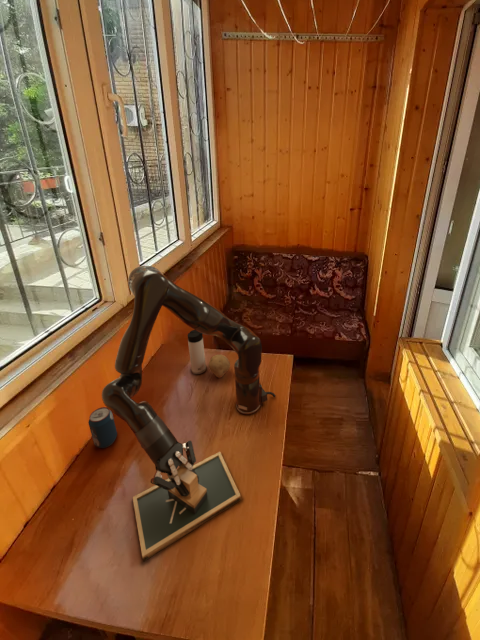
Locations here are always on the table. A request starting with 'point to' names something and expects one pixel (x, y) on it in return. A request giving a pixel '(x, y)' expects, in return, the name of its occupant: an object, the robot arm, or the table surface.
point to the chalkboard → (182, 507)
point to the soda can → (102, 427)
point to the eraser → (195, 491)
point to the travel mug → (196, 352)
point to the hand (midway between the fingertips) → (192, 488)
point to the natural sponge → (219, 365)
